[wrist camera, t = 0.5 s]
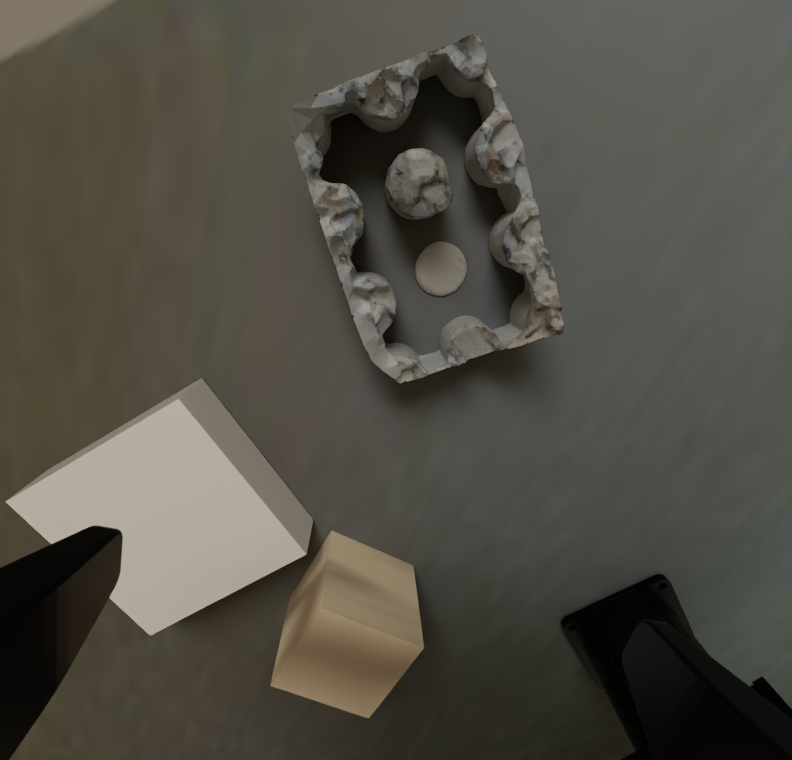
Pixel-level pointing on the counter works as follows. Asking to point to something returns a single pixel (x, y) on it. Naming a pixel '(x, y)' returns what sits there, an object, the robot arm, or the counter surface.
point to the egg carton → (431, 208)
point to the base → (174, 507)
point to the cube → (349, 627)
